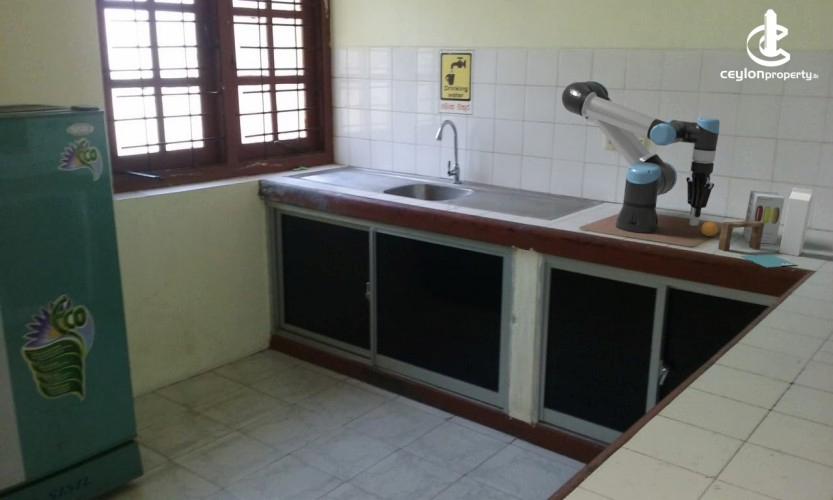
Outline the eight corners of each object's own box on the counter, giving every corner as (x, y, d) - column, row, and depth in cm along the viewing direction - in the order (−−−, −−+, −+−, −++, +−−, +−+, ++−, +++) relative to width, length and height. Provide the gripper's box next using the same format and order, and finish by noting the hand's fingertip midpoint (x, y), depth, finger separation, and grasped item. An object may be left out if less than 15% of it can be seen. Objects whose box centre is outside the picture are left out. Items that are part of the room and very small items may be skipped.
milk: (782, 249, 255) (794, 185, 249) (802, 252, 252) (814, 188, 246) (778, 252, 251) (790, 188, 245) (798, 256, 247) (811, 191, 241)
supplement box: (748, 242, 263) (756, 195, 258) (741, 235, 271) (749, 190, 267) (776, 244, 261) (785, 197, 256) (769, 237, 270) (777, 192, 265)
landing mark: (766, 267, 233) (767, 267, 233) (740, 256, 244) (740, 255, 244) (797, 265, 237) (798, 265, 237) (770, 254, 248) (770, 254, 248)
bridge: (724, 251, 250) (728, 224, 247) (718, 248, 253) (722, 222, 250) (759, 249, 254) (764, 222, 251) (753, 246, 257) (758, 220, 254)
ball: (706, 238, 265) (709, 223, 263) (697, 234, 270) (699, 219, 268) (719, 238, 266) (722, 223, 265) (709, 234, 271) (712, 219, 270)
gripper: (723, 164, 264) (713, 228, 271) (700, 158, 276) (691, 220, 283) (705, 164, 262) (696, 229, 269) (683, 158, 274) (674, 220, 280)
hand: (693, 224), depth 276 cm, fingers closed
